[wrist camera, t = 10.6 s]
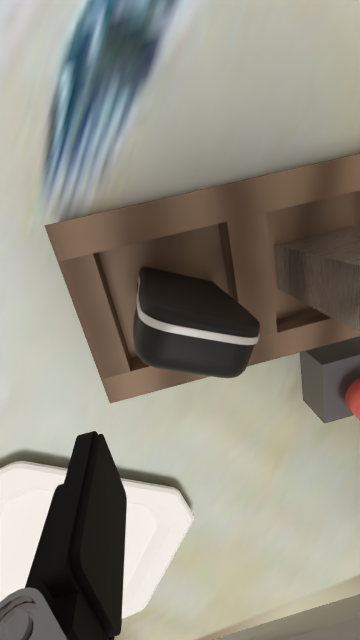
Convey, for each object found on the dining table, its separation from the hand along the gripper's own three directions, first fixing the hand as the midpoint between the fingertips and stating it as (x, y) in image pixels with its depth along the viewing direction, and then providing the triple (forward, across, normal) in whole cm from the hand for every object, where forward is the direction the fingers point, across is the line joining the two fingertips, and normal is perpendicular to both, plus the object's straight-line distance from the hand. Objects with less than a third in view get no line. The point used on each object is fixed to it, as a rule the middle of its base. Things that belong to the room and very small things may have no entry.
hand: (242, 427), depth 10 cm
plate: (+19, +19, +27) cm, 38 cm away
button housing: (+19, -15, +12) cm, 27 cm away
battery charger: (+17, 0, 0) cm, 17 cm away
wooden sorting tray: (+18, -6, -1) cm, 19 cm away
